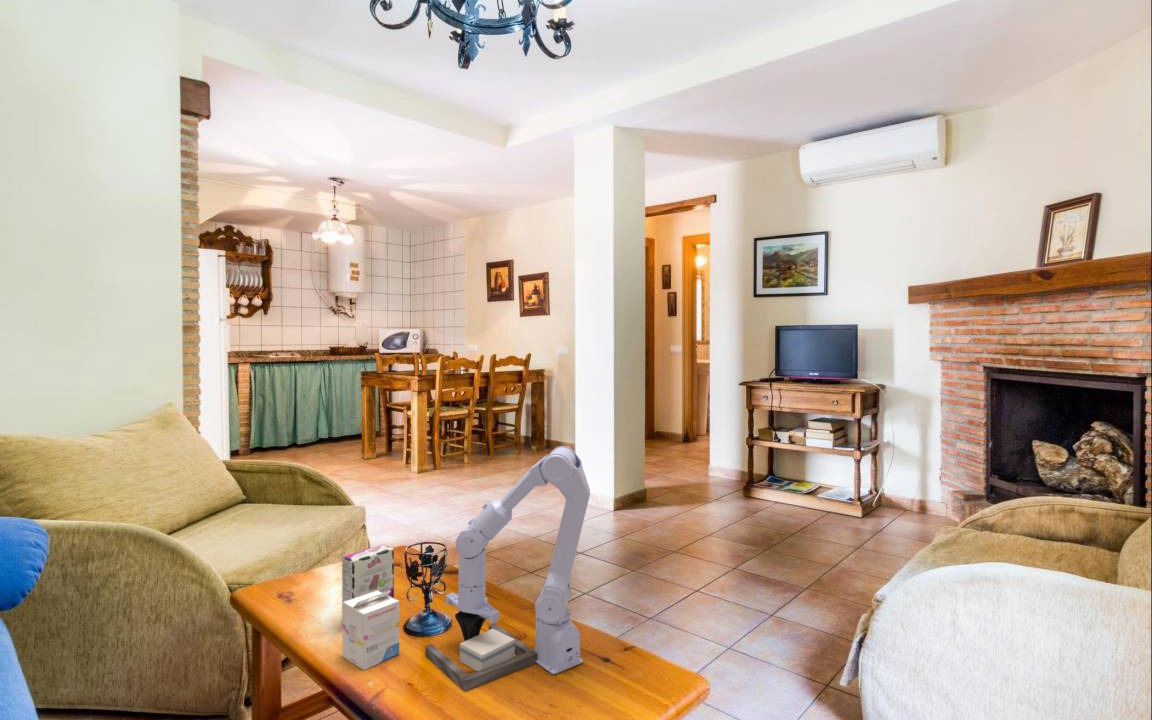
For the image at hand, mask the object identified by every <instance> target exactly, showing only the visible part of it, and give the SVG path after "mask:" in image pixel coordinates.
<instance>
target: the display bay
mask: <svg viewBox="0 0 1152 720" xmlns="http://www.w3.org/2000/svg"><path fill="white" fill-rule="evenodd" d="M491 629H495V630H497V631H499V632H501V633H503V634H505V635H507V636H509V637H511V638H513V639H515V655H517V656H515V657H513V658H511V659H509V660H506V661H504V662H501V663H498V664H496V665H493V666H490V667H488V668H485V669H482V670H480V671H474V672H472V673H470V674H468V673H466V672H465V671H464V670H463V669H462V668H461V667H459V665H458V664H456V663H455V662H454V661H453V660H452V659H450V658H449V657H448V656H447V655H446V654H444V653H443V652H442V651H441V650H440V649H438V648H437V647H436V646H435V645H434V644H433V643H431V644H427V645H424V647H425V648H424V656H425V657H426V658H428V659H429V660H430V661H431V662H432V663H433V664H434V665H435V666H436V667H437V668H439V669H440V670H441V672H443V673H444V674H445V675H446V676H447V677H449V679H451V680H452V681H453V682H454V683H455V685H457V686H458V687H459V688H460V689H461V690H462V691H464V692H468V691H469V690H472V689H474V688H477V687H480V686H482V685H485V684H487V683H489V682H492V681H495V680H498V679H500V678H503V677H505V676H507V675H510V674H512V673H514V672H515V673H516V672H518V671H520V670H522V669H525V668H527V667H530V666H532V665H535V664H537V663H536V660H537V656H538V653H537V652H535V650H534V649H533V648H531V647H530V646H528V645H526V644H525V643H524V642H522V641H521V640H519V638H517V637H515V636H513V635H512V634H511V633H509V632H508V631H506V630H505V629H503V628H501V627H500V626H499V625H497V623H491V624H488V630H491Z"/></svg>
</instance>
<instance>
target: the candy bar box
mask: <svg viewBox="0 0 1152 720" xmlns="http://www.w3.org/2000/svg"><path fill="white" fill-rule="evenodd" d="M394 550H395V549H394V548H393V547H391V546H387V545H385V544H380V545H377V546H374V547H373V546H372V547H370V548H366V549H363V550H360V551H357V552H354V553H351V554H347V555H344V556H342V557H341V584H342V585H341V589H342V590H341V592H342V593H341V596H342V597H341V598H342V599H341V600H342V605H341V607H342V609H341V610H342V613H341V614H342V619H341V620H342V621H341V623H342V624H343V602H345V601H348V600H351V599H354V598H357V597H360V596H363V595H366V594H369V593H372V592H374V591H380V592H382V593H384V592H387V591H390V590H391V592H390V593H389V594H388V596H390V597H392V598H394V599H395V582H394V580H395V579H394V578H395V563H394V562H395V561H394V560H395V557H394V555H395V553H394V552H395V551H394Z"/></svg>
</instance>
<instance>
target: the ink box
mask: <svg viewBox="0 0 1152 720" xmlns="http://www.w3.org/2000/svg"><path fill="white" fill-rule="evenodd" d="M390 592H391V590H390V591H387V592H384V593H382V592H380V591H374V592H372V593H369V594H366V595H363V596H360V597H357V598H354V599H351V600H348V601H345V602H343V623H342V657H343V658H344V659H346V660H347V661H349V662H350V663H352V664H354V665H355V666H356V667H357V668H359V669H361V670H362V671H366V670H368V669H370V668H372V667H375V666H377V665H379V664H381V663H383V662H385V661H387V660H390V659H392V658H393V657H396V656H398V655H400V613H401V612H400V608H401V607H400V606H401V605H400V600H399V599H396V598H395V597H394V598H392V597H390V596H388V594H389V593H390Z"/></svg>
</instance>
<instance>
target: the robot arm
mask: <svg viewBox="0 0 1152 720" xmlns="http://www.w3.org/2000/svg"><path fill="white" fill-rule="evenodd" d="M548 483H550V484H551V485H553V487H555V488H556V489H558V491H560V493H561V494H562V497H564V498H565V501H564V503H565V504H564V507H563V511H562V516H561V519H560V524H559V528H558V532H557V536H556V541H555V544H554V545H555V546H554V549H553V554H552V557H551V562H550V564H549V565H550V566H549V569H548V573H547V576H546V579H545V582H544V583H543V584H542V585H543V586H542V589H541V591H540V594H539V596H538V597H537V598H536V600H535V604H534V610H535V611H534V612H535V650H534V651H535V652H537V653H538V656H537V660H536V663H535V664H537V665H538V666H540V667H542V668H543V669H545V670H546V671H547V672H549V673H550V674H552V675H556V674H559V673H562V672H564V671H566V670H568V669H570V668H571V669H572V668H573V667H575V666H577V665H581V664H583V662H584V660H583V659H582V658H581V632H580V630H579V628H578V627H577V626H576V625H575V624H574V623H573V621H572V618H571V611H570V609H569V607H568V602H569V601H570V598H571V596H572V588H571V585H570V582H571V577H572V571H573V566H574V562H575V558H576V554H577V548H578V545H579V542H580V538H581V533H582V529H583V525H584V522H585V517H586V514H587V513H586V512H587V508H588V504H589V501H590V496H591V488H590V485H589V482H588V480H587V477H586V473H585V470H584V468H583V461H582V459H581V458H580V457H579V455H578V454H577V453H576V452H575V451H574V450H573V449H572V448H571V447H569V446H566V445H561V446H560V445H559V446H556V447H555V448H553V449H552V450H551V451H550V453H549V454H547V455H545V456H544V457H542V458H541V459H540V460H539V461H537V462H536V463H535V464H533V465H532V466H531V467H530V468H529V469H528V470H527V471H526V472H525V473H524V474H523V476H521V478H520V479H519V480H517V482H516V483H515V484H514V486H512V487H511V489H510V490H509V491H508V492H507V493H506V494H505V496H503V497H502V498H501V499H492V500H491V501H490V502H489V501H487V502H485V503H484V504H483V505H482V506H481V507H482V508H483V509H482V511H480V513H478V515H477V516H475V518H471V519H470V520H469V521H468V522H467V524H468V526H467V527H466V528H464V529H463V530H461V531H460V532H459V535H458V536H457V537H456V540H455V549H456V551H457V553H458V554H459V555H458V581H457V582H458V587H457V588H458V590H457V592H458V593H455V592H451V593H448V594H445V604H446V605H448V606H450V605H452V606H454V607H455V608H456V609H457V610H458V612H456V613H455V614H454V618H455V620H456V622H457V624H458V626H459V627H460V630H461V634H462V638H463V642H464V641H467V640H469V639H471V638H473V637H475V636H477V635H480V634H481V630H482V627H483V624H484V623H485V621H486V620H488V622H489V623H491V624H495V623H496V622H498V621H499V620H500V611H499V610H497V609H496V608H494V607H493V606H492V605H491V604H490V603H489V602H488V601H489V600H488V597H486V579H487V578H486V572H487V571H486V570H487V569H486V568H487V561H486V547H487V546H488V545H489V542H490V541H492V540H493V539H495V538H496V536H497V535H498V534H499V533H500V532H501V531H502V530H503V529H504V528H505V526H507V525H508V524H509V523H510V521H511V520H512V519H513V509H515V507H516V506H518V504H519V503H520V502H521V501H523V499H524V498H525V497H527V496H528V494H529V493H531V492H532V490H534V489H535V488H536V487H541V486H546V485H547V484H548Z"/></svg>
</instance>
